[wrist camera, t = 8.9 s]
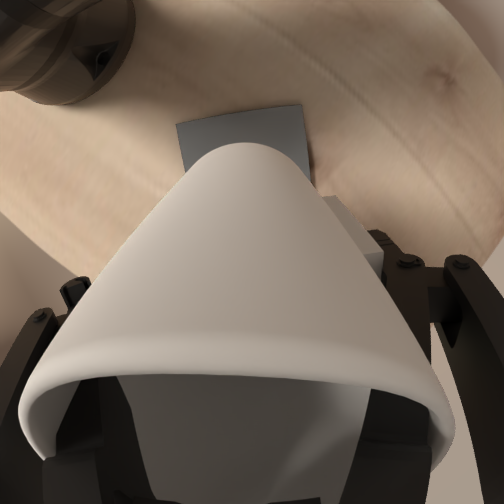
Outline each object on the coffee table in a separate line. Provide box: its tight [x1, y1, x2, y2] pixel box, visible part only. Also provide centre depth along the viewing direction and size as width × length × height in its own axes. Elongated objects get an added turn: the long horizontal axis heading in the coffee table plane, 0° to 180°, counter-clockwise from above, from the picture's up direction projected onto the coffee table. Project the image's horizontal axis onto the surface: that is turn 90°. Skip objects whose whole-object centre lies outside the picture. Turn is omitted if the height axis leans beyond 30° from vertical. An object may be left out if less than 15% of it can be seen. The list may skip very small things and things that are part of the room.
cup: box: [18, 143, 455, 504], centre depth 12 cm, size 8×8×16 cm
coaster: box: [176, 105, 311, 182], centre depth 30 cm, size 12×12×1 cm
